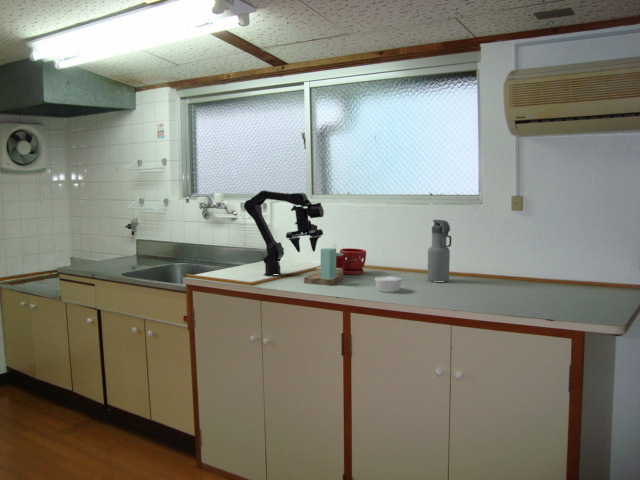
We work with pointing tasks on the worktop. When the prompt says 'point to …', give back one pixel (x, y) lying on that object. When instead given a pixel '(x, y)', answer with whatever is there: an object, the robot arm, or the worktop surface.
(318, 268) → the beam
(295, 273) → the worktop surface
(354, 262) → the plant pot
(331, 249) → the column
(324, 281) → the baseplate
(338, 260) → the canned food
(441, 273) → the water bottle
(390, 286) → the ramekin
